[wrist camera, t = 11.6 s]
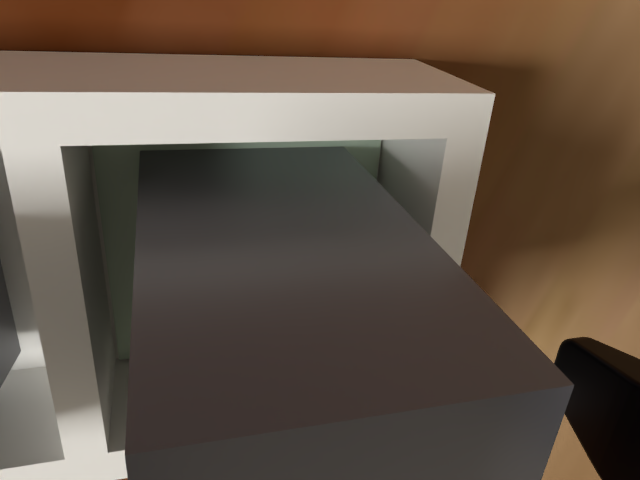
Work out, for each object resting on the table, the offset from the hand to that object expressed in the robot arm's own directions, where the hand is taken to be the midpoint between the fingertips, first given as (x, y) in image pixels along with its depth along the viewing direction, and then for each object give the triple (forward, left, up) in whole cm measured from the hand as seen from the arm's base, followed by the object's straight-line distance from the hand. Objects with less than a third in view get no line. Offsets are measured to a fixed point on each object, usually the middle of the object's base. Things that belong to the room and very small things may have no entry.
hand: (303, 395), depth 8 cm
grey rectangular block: (0, 0, -5) cm, 5 cm away
